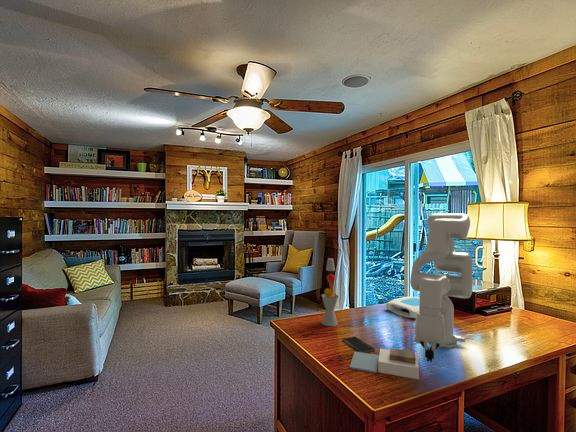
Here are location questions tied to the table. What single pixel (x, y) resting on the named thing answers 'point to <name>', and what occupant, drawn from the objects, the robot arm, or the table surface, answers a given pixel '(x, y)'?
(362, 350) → the phone
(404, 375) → the riser
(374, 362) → the mat
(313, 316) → the table surface
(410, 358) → the walnut tile
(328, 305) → the lava lamp
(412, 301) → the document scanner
